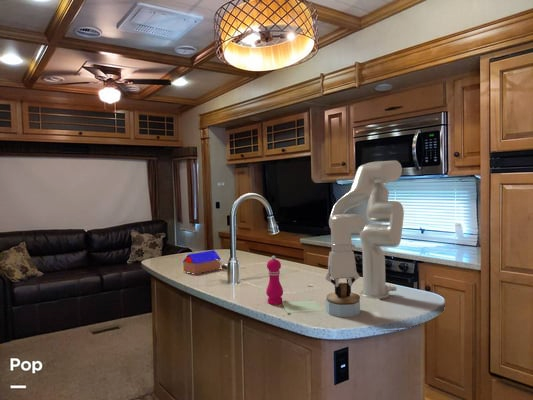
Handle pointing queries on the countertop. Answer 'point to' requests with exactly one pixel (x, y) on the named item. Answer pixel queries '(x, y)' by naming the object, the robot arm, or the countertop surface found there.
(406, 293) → the countertop surface
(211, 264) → the house
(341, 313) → the bowl
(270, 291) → the pepper mill
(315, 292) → the countertop surface
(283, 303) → the mat
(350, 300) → the lid
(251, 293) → the countertop surface
